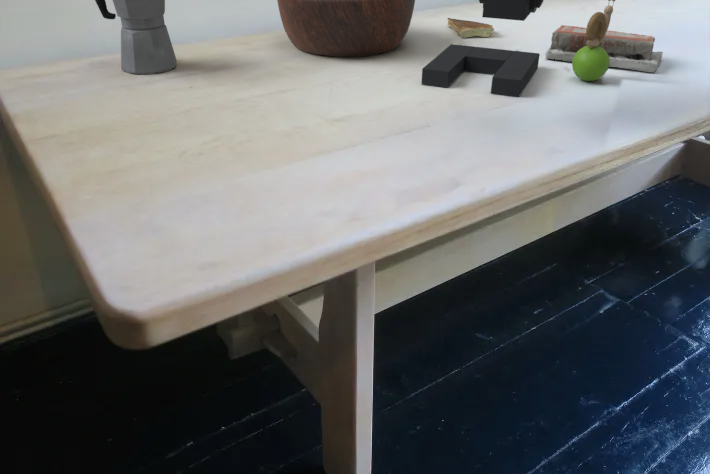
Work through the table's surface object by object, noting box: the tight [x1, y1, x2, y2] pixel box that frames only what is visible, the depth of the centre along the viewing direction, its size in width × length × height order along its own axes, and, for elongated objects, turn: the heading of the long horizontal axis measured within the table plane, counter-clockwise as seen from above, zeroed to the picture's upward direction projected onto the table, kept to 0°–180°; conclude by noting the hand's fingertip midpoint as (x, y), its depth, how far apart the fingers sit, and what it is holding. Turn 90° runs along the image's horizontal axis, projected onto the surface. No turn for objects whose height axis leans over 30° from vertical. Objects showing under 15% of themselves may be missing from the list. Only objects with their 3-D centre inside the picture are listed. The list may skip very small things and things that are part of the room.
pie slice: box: [447, 17, 495, 39], centre depth 132 cm, size 11×8×2 cm
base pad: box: [421, 43, 541, 98], centre depth 105 cm, size 15×16×2 cm
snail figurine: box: [571, 0, 616, 82], centre depth 102 cm, size 5×6×12 cm
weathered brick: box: [545, 24, 664, 73], centre depth 113 cm, size 18×5×10 cm
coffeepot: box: [94, 0, 177, 75], centre depth 106 cm, size 15×9×18 cm, turn 77°
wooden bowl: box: [276, 0, 416, 57], centre depth 121 cm, size 25×25×10 cm
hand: (509, 8), depth 82 cm, fingers closed on pad piece, 5 cm apart
